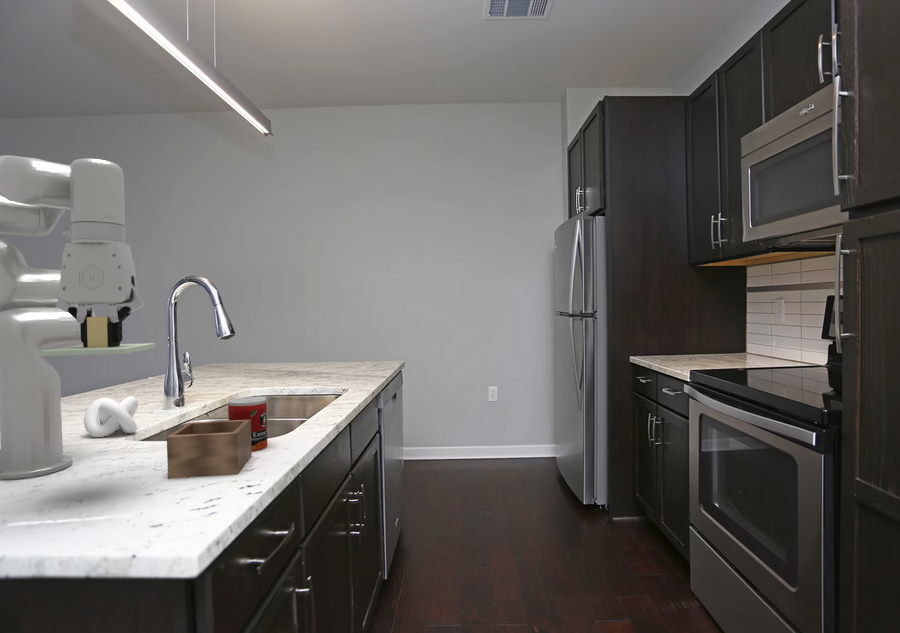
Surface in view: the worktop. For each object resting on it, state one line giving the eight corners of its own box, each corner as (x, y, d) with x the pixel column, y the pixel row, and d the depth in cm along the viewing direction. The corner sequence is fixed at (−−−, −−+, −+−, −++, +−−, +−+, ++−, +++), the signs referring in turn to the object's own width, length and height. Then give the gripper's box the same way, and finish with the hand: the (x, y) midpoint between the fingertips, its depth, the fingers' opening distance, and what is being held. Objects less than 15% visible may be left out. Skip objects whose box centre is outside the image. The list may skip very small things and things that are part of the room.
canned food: (255, 455, 112) (254, 403, 112) (221, 454, 114) (220, 402, 113) (274, 446, 120) (273, 397, 119) (242, 444, 121) (241, 396, 121)
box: (167, 481, 96) (166, 436, 96) (189, 462, 108) (188, 422, 108) (238, 476, 98) (236, 433, 98) (251, 458, 110) (250, 419, 110)
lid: (38, 356, 82) (37, 318, 82) (80, 349, 95) (79, 316, 95) (126, 353, 84) (125, 317, 84) (156, 347, 97) (155, 315, 97)
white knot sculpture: (110, 428, 141) (109, 394, 141) (154, 428, 140) (153, 394, 140) (77, 439, 130) (76, 402, 129) (124, 439, 129) (122, 401, 128)
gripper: (30, 233, 84) (34, 349, 85) (142, 233, 87) (145, 347, 87) (57, 238, 92) (60, 346, 92) (160, 239, 94) (162, 343, 95)
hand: (102, 345), depth 90 cm, fingers closed on lid, 3 cm apart
